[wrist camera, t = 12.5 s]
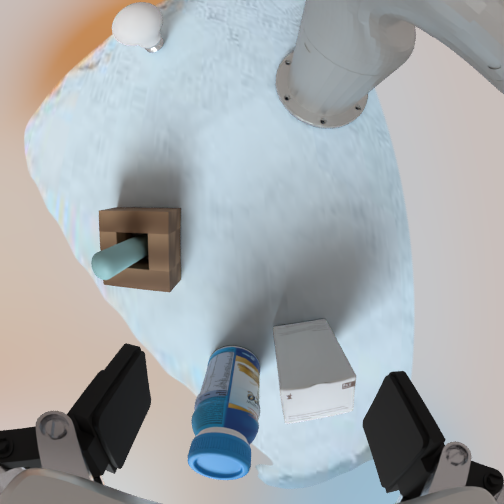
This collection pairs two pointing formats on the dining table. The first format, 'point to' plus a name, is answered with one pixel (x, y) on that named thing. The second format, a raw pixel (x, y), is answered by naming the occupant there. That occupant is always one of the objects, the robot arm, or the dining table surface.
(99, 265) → the peg
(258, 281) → the dining table surface
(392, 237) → the dining table surface
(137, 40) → the light bulb
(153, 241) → the socket block
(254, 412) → the beverage bottle
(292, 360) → the skincare box
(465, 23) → the robot arm
